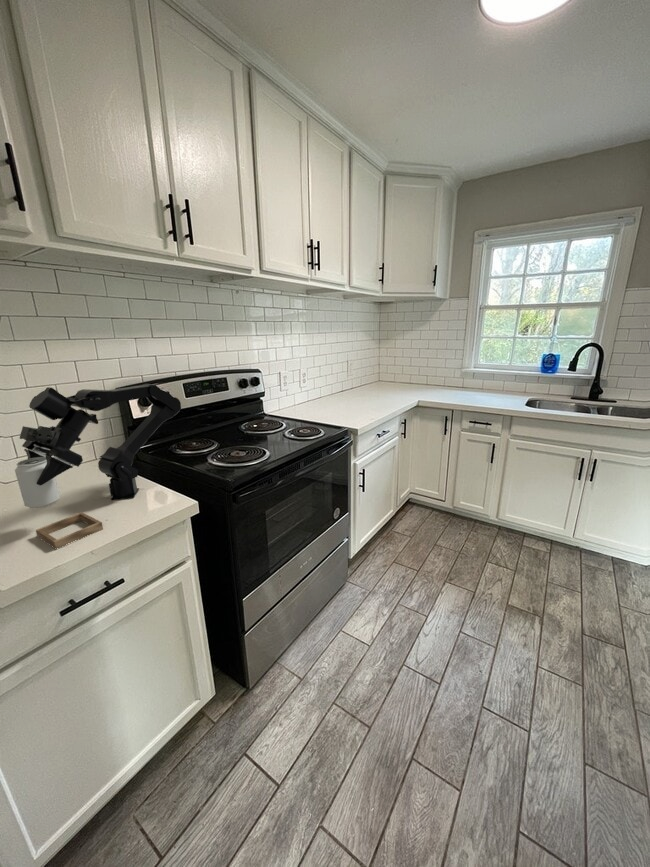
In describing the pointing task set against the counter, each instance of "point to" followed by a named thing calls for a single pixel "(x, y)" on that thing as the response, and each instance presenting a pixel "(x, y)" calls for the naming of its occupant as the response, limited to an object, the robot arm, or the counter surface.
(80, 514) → the frame
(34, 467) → the can
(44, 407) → the robot arm
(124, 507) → the counter surface
